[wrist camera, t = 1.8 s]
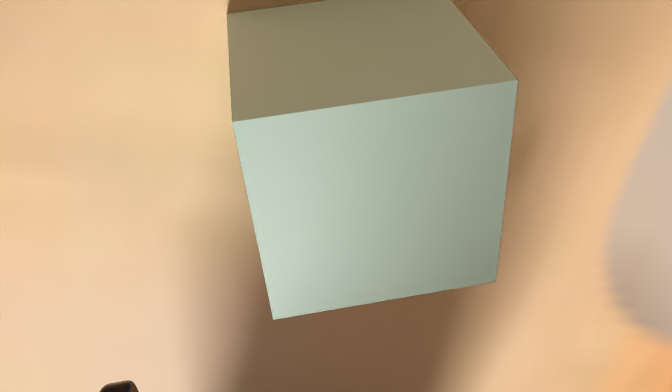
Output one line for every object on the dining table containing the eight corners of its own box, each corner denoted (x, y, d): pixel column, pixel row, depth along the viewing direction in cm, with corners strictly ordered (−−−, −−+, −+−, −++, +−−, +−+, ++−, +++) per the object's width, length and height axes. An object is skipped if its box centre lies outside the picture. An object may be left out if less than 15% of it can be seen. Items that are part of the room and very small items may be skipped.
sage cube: (433, 158, 18) (495, 281, 14) (259, 185, 18) (273, 320, 14) (437, -16, 15) (518, 79, 11) (226, 12, 15) (232, 121, 11)
